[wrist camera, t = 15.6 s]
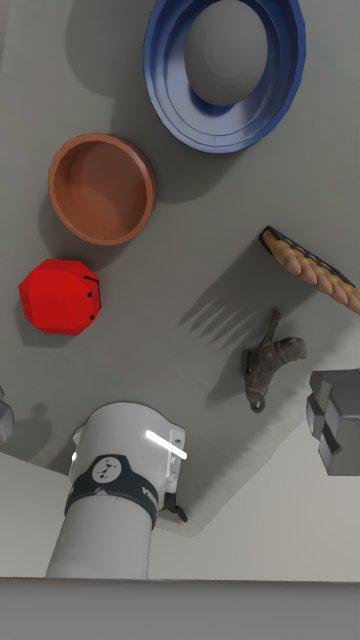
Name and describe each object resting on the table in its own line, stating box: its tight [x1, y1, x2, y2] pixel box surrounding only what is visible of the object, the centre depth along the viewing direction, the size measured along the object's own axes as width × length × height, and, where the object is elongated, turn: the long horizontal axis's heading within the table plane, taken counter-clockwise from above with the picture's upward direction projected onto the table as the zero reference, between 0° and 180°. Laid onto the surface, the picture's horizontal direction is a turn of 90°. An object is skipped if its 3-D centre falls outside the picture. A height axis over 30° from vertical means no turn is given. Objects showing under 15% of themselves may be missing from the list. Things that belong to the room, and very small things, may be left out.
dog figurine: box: [241, 311, 306, 413], centre depth 41 cm, size 12×6×7 cm, turn 158°
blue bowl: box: [143, 0, 306, 154], centre depth 28 cm, size 13×13×5 cm
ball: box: [18, 259, 101, 335], centre depth 38 cm, size 8×8×8 cm
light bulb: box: [184, 0, 268, 106], centre depth 25 cm, size 6×6×10 cm
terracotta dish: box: [48, 133, 158, 246], centre depth 33 cm, size 10×10×4 cm
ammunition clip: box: [259, 226, 360, 315], centre depth 33 cm, size 11×2×12 cm, turn 59°
